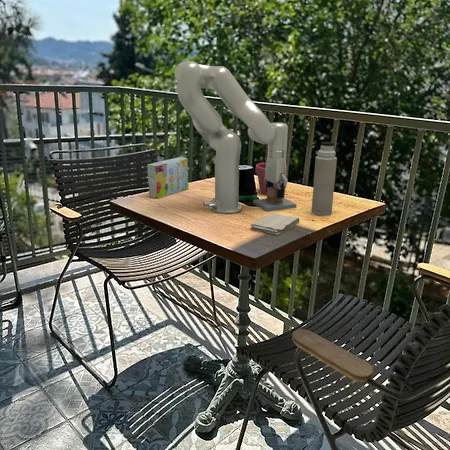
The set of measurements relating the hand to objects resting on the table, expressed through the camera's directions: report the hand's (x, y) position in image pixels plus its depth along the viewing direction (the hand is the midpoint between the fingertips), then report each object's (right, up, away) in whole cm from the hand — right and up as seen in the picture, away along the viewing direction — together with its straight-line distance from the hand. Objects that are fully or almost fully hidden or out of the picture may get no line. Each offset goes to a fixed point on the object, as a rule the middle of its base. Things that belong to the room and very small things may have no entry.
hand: (274, 195), depth 180 cm
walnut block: (0, -3, +1) cm, 3 cm away
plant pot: (0, +2, +21) cm, 21 cm away
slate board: (0, -4, +2) cm, 5 cm away
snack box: (-46, +2, +19) cm, 50 cm away
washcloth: (-3, -13, -22) cm, 26 cm away
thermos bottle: (+18, -8, -7) cm, 21 cm away
